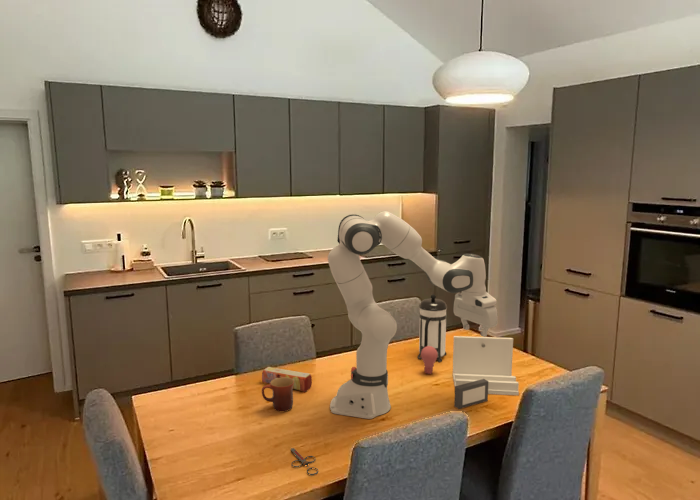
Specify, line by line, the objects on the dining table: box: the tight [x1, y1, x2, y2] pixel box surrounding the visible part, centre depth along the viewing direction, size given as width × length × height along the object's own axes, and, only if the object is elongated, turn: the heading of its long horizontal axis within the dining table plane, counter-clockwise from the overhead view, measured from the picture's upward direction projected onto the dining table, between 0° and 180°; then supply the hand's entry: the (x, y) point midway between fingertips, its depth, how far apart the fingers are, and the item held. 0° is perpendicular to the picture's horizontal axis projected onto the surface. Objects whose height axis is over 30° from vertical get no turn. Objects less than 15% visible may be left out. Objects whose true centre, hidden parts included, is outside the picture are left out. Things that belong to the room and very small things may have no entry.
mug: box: [261, 377, 294, 412], centre depth 188 cm, size 12×9×10 cm
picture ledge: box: [452, 335, 520, 396], centre depth 207 cm, size 24×17×18 cm
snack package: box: [261, 366, 313, 392], centre depth 209 cm, size 21×7×7 cm, turn 64°
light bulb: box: [420, 346, 438, 374], centre depth 220 cm, size 7×7×12 cm
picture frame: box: [453, 379, 489, 410], centre depth 192 cm, size 14×3×8 cm, turn 118°
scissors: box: [290, 447, 319, 476], centre depth 156 cm, size 8×18×2 cm, turn 32°
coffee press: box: [417, 294, 448, 363], centre depth 235 cm, size 17×16×30 cm
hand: (474, 332), depth 191 cm, fingers open, 8 cm apart
